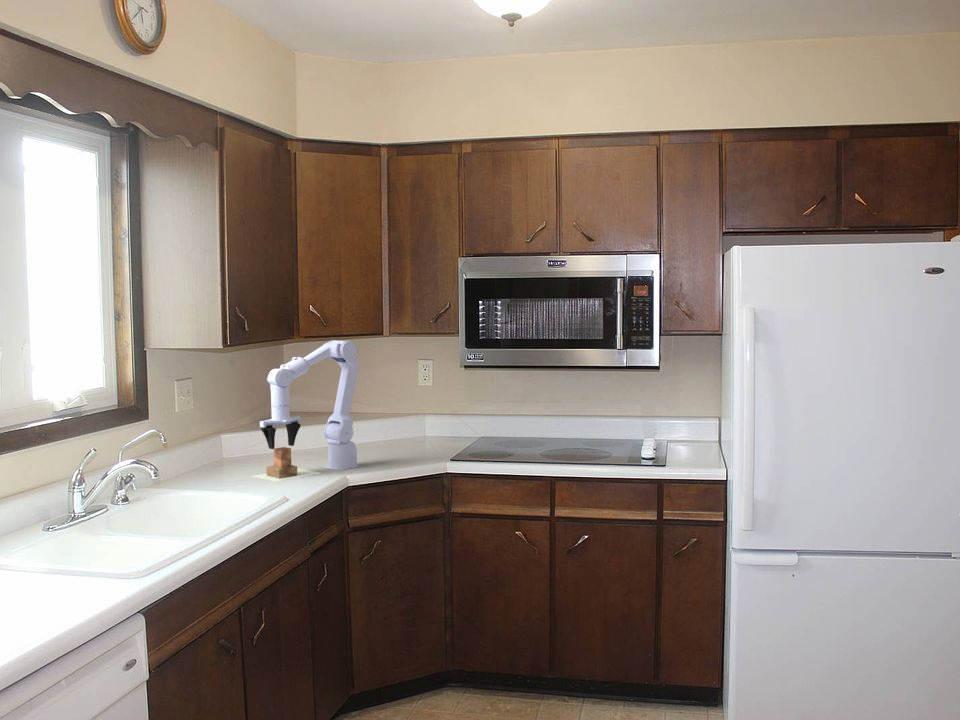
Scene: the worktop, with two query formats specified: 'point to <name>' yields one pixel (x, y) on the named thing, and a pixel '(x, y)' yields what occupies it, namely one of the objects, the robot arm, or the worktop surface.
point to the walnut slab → (281, 471)
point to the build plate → (299, 474)
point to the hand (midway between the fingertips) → (281, 447)
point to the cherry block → (282, 457)
